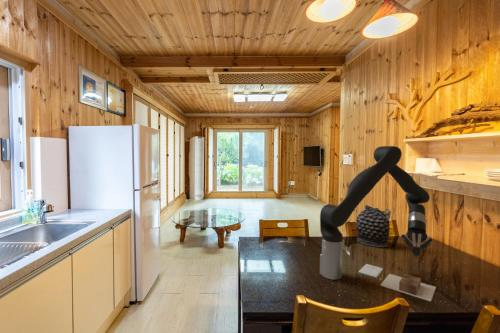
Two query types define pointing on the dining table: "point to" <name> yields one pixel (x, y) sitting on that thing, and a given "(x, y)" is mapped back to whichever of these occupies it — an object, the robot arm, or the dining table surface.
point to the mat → (393, 283)
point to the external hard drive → (370, 271)
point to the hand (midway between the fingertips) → (416, 255)
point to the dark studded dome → (373, 227)
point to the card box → (410, 284)
